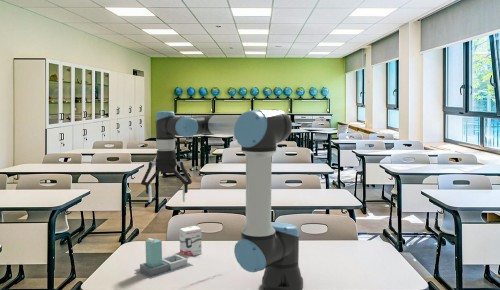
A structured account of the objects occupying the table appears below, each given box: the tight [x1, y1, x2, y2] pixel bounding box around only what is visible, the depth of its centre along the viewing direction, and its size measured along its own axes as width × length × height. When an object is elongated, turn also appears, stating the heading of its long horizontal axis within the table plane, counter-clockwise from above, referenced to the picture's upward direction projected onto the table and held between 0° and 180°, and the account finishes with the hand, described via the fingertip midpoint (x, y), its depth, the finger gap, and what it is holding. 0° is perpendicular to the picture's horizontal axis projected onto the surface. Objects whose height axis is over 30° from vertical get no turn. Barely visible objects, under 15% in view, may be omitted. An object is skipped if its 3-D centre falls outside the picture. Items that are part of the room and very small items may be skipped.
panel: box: [134, 253, 194, 280], centre depth 185 cm, size 12×20×4 cm, turn 134°
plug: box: [145, 237, 163, 268], centre depth 181 cm, size 4×4×13 cm
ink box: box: [178, 225, 203, 257], centre depth 203 cm, size 8×5×12 cm, turn 123°
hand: (167, 201), depth 189 cm, fingers open, 13 cm apart
